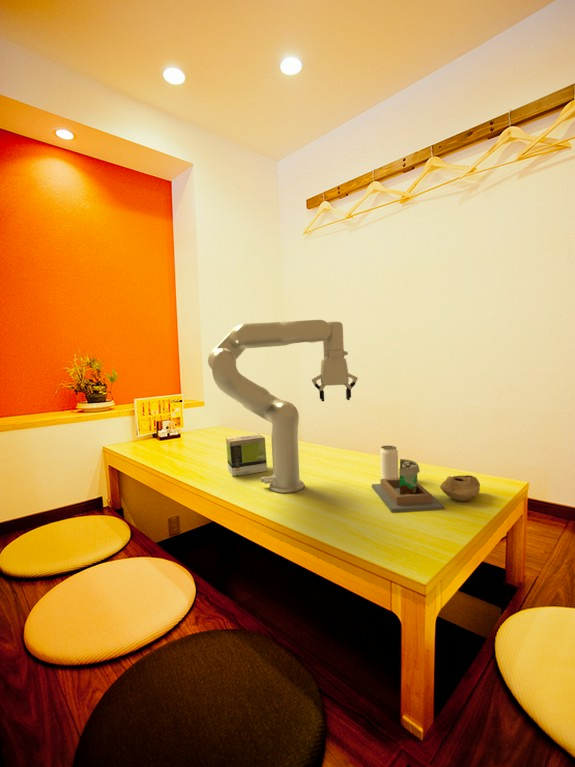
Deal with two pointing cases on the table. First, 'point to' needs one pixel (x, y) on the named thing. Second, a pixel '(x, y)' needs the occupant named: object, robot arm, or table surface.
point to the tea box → (246, 454)
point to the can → (389, 462)
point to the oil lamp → (461, 487)
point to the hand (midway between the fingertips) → (335, 400)
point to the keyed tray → (405, 497)
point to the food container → (408, 477)
